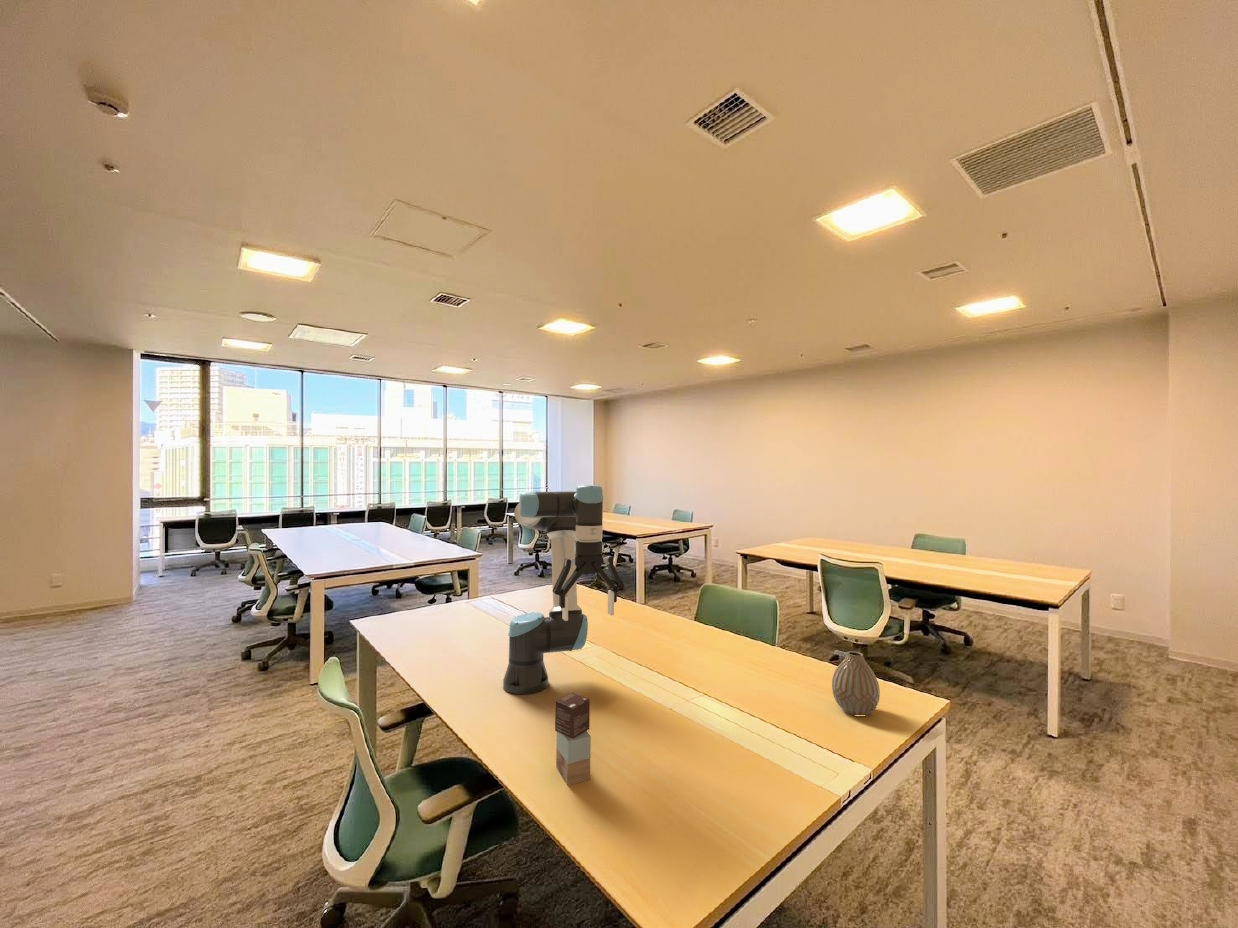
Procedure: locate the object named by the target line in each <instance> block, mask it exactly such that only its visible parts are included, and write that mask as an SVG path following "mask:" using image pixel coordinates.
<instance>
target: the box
mask: <svg viewBox="0 0 1238 928" xmlns="http://www.w3.org/2000/svg"><path fill="white" fill-rule="evenodd" d="M590 704H591V703H590V698H587V697H584V696H582V695H579V694H577V693H574V692H571V693H569V694H567V695H565V696H563V697H560V698H559V699H555V711H554V712H555V713H554V715H555V718H554V722H555V723H554V730H555V731H554V732H555V733H557V732H558V733H560V734H563V735H565V736H567V737H569V738H570V739H573V738H575V737H577V736H579V735H580V734H582V733H584V732H585V731H587V732H588V731H589V730H590V725H591V723H590V721H591V720H590V716H591V715H590V713H591V712H590V711H591V710H590Z"/></svg>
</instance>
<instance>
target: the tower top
mask: <svg viewBox="0 0 1238 928" xmlns="http://www.w3.org/2000/svg"><path fill="white" fill-rule="evenodd" d="M591 736H592V735H590V734H589V732H588V730H587V731H585V732H584V733H582V734H580V735H579V736H577V737H575V738H573V739H570V738H569V737H567V736H565V735H563V734H560V733H558V732H556V745H555V746H556V747H557V748H558V750H559V751H560V753H561V754H562V756H563V757H564V759H565V760H566V762H567V763H568V764H570V763H573V762H577V761H581V760H585V759H588V758H590V759H591V753H592V752H591V750H592V747H591V743H592V737H591Z"/></svg>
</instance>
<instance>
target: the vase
mask: <svg viewBox="0 0 1238 928" xmlns="http://www.w3.org/2000/svg"><path fill="white" fill-rule="evenodd" d="M831 689H832V695H833V697H834V699H835V702H836V703H837V705H838V706H839V707H840V709H842V711H844V712H845V713H846V712H847V713H846V714H848V713H849V715H850V714H852V715H851V716H853V715H867V716H869V715H870V714H872V713H874V711H875V710H876V709H877V706H878V705H879V702H880V695H881V693H880V692H881V690H880V684H879V680H878V678H877V677H876V674H875V673H874V671H873V670H872V668H871V666H870V665H869V664H868V663H867V661H866V660H865V657H864V654H863V653H861V652H859V651H854V650H850V651H847V652H846V656H845V658H844V659H843V660H842V661H841V662H840V663H839V664H838V666H837V667H836V669H835V670H834V672H833V675H832V679H831Z"/></svg>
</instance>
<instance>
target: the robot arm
mask: <svg viewBox="0 0 1238 928" xmlns="http://www.w3.org/2000/svg"><path fill="white" fill-rule="evenodd" d="M575 489H576V490H575V491H534V490H531V491H523V492H521V493H520V495H519V503H518V504H517V505H516V506H515V508H514V512H513V513H514V514H513V515H514V519H515V521H516V522H517V523H518V524H519V525H520V526H522V527H524V528H527V529H529V530H535V531H546V536H547V537H548V538H549V539H550V542H551V543H550V544H551V545H550V546H551V549H550V550H551V552H550V553H551V575H552V576H551V577H552V579H551V582H552V608H551V609H550V610H549V612H548V616H547V617H545V615H544V614H543V613H542V612H527V613H524V614H519V615H517V616H515V617H513V618H512V620H510V623H509V628H508V629H509V630H508V636H509V638H508V664H507V667H506V670H505V673H504V676H503V679H502V686H503V687H502V688H503V690H504V691H506V692H508V693H510V694H514V695H530V694H535V693H538V692H541V691H544V690H545V689H546V688H547V687H548V686H549V675H548V672H547V669H546V668H547V667H546V666H545V662H544V655H545V654H547V653H548V654H550V653H560V652H572V651H579V650H581V649H582V650H583V648H584V647H585V645H586V642H587V637H588V629H589V628H588V627H589V622H588V615H586V614H584V613H583V609H582V607H580V606H579V605H578V589H577V588H578V587H577V581H578V579H579V578H580V577H581V576H582V575H584V576H585V575H586V576H587V575H590V574H591V575H595V574H596V573H597V574H598V576H599V577H600V578H601V579H602V580H603V581H604V582H605V584H606V585H607V586H608V588H609V590H607V614H608V615H609V616H615V603H617V601H618V592H619V590H620V589H623V588H624V584H623V582H622V580H621V578H620V576H619V574H618V572H617V568H616V567H615V565H614V557H613V556H611V555H606V556H605V557H603V540H602V539H603V518H604V517H603V513H604V511H603V507H604V505H603V504H604V503H603V501H604V494H603V492H604V491H603V487H602V486H601V485H593V484H592V485H585V484H584V485H583V484H582V485H578V486H576V488H575ZM575 539H576V540H577V541H575ZM603 564H605V565H606V567H607V569H608V571H609V573H610V575H611V578H612V580H613V581H612V580H611V578H609V576H608V575H607V574H606V572H605V570H603V569H602V566H603Z"/></svg>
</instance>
